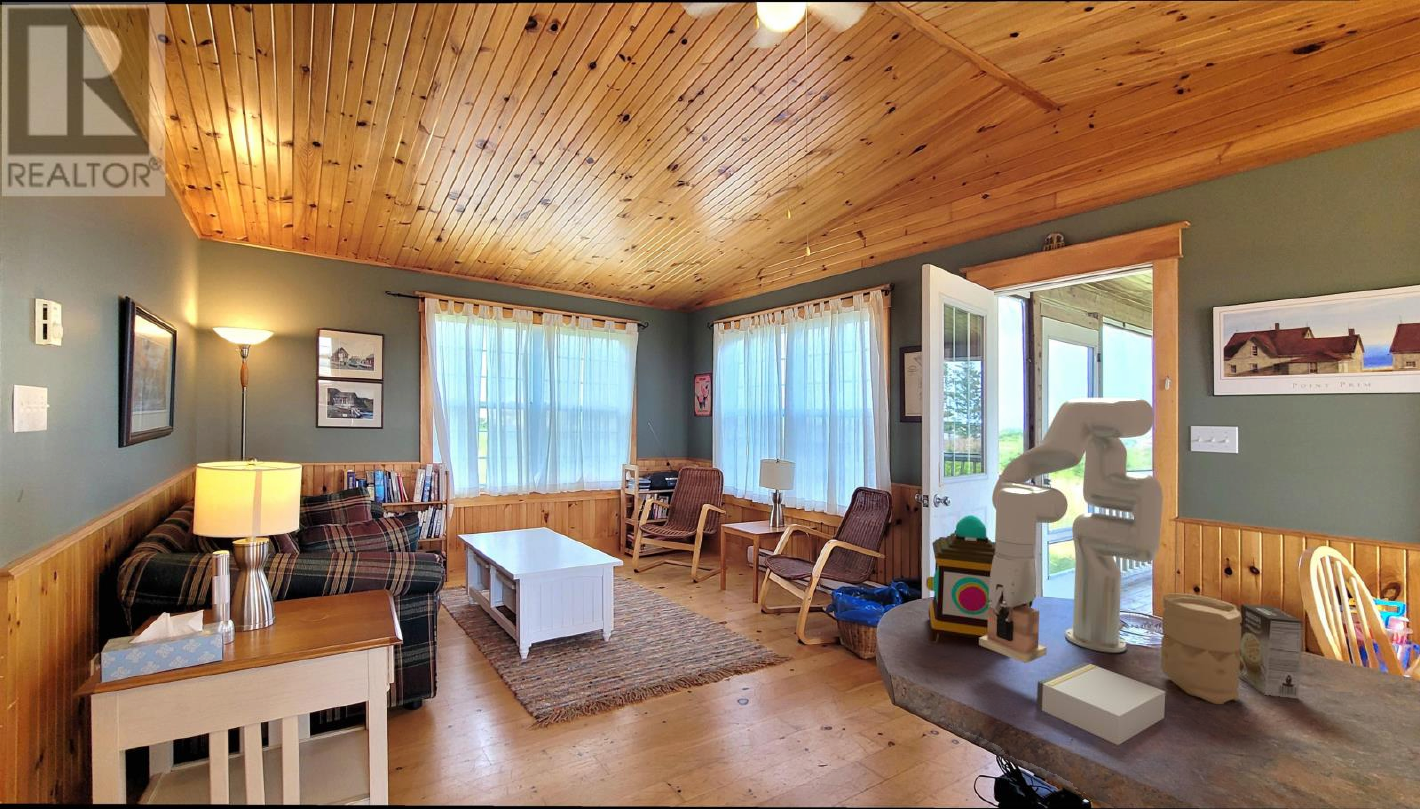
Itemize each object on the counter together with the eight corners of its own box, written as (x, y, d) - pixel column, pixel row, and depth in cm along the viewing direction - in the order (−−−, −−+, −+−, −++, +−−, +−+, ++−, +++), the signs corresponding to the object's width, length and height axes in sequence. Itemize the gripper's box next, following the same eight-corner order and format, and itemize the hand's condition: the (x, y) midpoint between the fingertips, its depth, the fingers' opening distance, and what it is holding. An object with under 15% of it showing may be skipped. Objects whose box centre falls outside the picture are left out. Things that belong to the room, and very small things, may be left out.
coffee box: (1235, 675, 132) (1238, 602, 132) (1269, 679, 131) (1272, 605, 130) (1264, 695, 123) (1268, 617, 123) (1301, 699, 122) (1305, 620, 121)
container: (1245, 693, 123) (1249, 606, 123) (1228, 711, 116) (1232, 618, 116) (1170, 670, 133) (1174, 589, 133) (1150, 685, 126) (1154, 599, 126)
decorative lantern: (923, 616, 162) (927, 505, 162) (1004, 627, 156) (1009, 511, 155) (925, 644, 143) (930, 518, 143) (1018, 658, 137) (1023, 527, 136)
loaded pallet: (1000, 636, 131) (1001, 596, 131) (1046, 654, 123) (1047, 610, 122) (979, 644, 127) (980, 602, 127) (1025, 663, 119) (1026, 618, 118)
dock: (1084, 685, 124) (1085, 661, 124) (1164, 717, 113) (1165, 690, 112) (1036, 707, 115) (1037, 681, 115) (1118, 745, 103) (1119, 715, 103)
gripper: (1020, 539, 132) (1018, 621, 132) (973, 549, 123) (971, 638, 123) (1055, 547, 126) (1052, 633, 126) (1008, 559, 116) (1005, 651, 117)
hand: (1012, 634), depth 125 cm, fingers closed on loaded pallet, 5 cm apart
